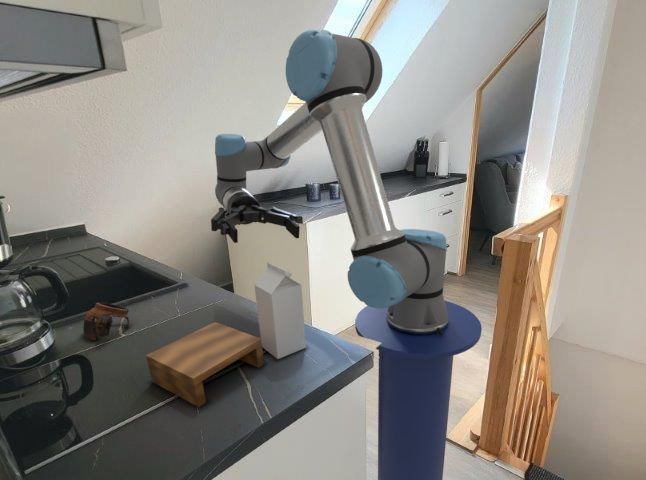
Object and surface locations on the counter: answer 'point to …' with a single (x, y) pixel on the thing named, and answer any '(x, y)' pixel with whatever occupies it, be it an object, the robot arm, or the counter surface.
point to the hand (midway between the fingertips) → (267, 234)
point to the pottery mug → (102, 319)
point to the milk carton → (280, 312)
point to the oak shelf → (201, 359)
